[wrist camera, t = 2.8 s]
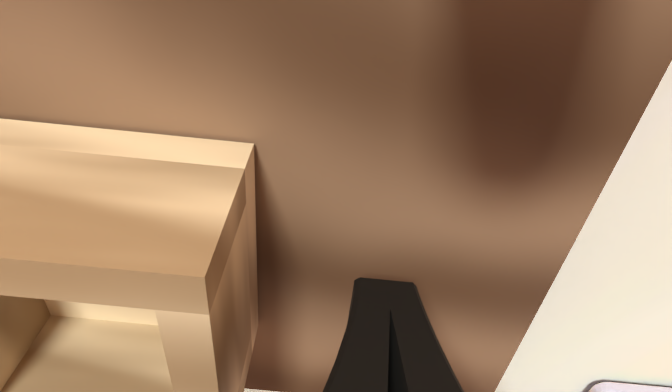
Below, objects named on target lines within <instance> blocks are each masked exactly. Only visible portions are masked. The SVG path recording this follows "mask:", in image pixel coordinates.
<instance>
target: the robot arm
mask: <svg viewBox="0 0 672 392" xmlns="http://www.w3.org/2000/svg"><path fill="white" fill-rule="evenodd" d="M323 392H464V391H463V389H462V387H461V385H460V383H459V381H458V379H457V377H456V376H455V374H454V372H453V370H452V367H451V365H450V363H449V361H448V359H447V357H446V355H445V353H444V351H443V349H442V347H441V345H440V343H439V341H438V339H437V337H436V334H435V332H434V330H433V327H432V325H431V323H430V321H429V318H428V316H427V313H426V311H425V308H424V306H423V303H422V301H421V298H420V295H419V292H418V289H417V286H416V285H415V284H414V283H413V282H403V281H393V280H382V279H372V278H362V277H360V278H358V279H356V280H354V285H353V292H352V298H351V304H350V310H349V316H348V322H347V327H346V330H345V333H344V336H343V339H342V342H341V345H340V348H339V351H338V354H337V357H336V360H335V363H334V365H333V368H332V370H331V373H330V375H329V377H328V380H327V382H326V385H325V387H324V390H323ZM589 392H672V388H670V387H659V386H648V385H638V384H627V383H617V382H601V383H598V384H596V385H594V386H593V387H592V388H591V389H590V390H589Z"/></svg>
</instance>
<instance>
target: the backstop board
mask: <svg viewBox="0 0 672 392" xmlns="http://www.w3.org/2000/svg"><path fill="white" fill-rule="evenodd" d="M671 60H672V0H0V118H1V119H11V120H21V121H31V122H41V123H51V124H61V125H72V126H82V127H92V128H102V129H112V130H122V131H132V132H142V133H152V134H162V135H172V136H182V137H192V138H202V139H213V140H223V141H233V142H243V143H253V144H254V164H255V205H256V246H257V288H258V329H257V333H256V338H255V342H254V347H253V351H252V356H251V360H250V365H249V369H248V374H247V379H246V383H245V388H248V389H259V390H270V391H280V392H323V390H324V387H325V385H326V382H327V380H328V377H329V375H330V373H331V370H332V368H333V365H334V363H335V360H336V357H337V354H338V351H339V348H340V345H341V342H342V339H343V336H344V333H345V330H346V327H347V322H348V316H349V310H350V304H351V298H352V292H353V285H354V280H356V279H358V278H360V277H362V278H372V279H382V280H393V281H403V282H413V283H414V284H415V285H416V286H417V289H418V292H419V295H420V298H421V301H422V303H423V306H424V308H425V311H426V313H427V316H428V318H429V321H430V323H431V325H432V327H433V330H434V332H435V334H436V337H437V339H438V341H439V343H440V345H441V347H442V349H443V351H444V353H445V355H446V357H447V359H448V361H449V363H450V365H451V367H452V370H453V372H454V374H455V376H456V377H457V379H458V381H459V383H460V385H461V387H462V389H463V391H464V392H494V391H495V390H496V388H497V386H498V384H499V382H500V380H501V378H502V376H503V375H504V373H505V371H506V369H507V367H508V365H509V363H510V362H511V360H512V358H513V356H514V354H515V352H516V350H517V348H518V347H519V345H520V343H521V341H522V339H523V337H524V335H525V333H526V332H527V330H528V328H529V326H530V324H531V322H532V320H533V319H534V317H535V315H536V313H537V311H538V309H539V307H540V305H541V304H542V302H543V300H544V298H545V296H546V294H547V292H548V290H549V289H550V287H551V285H552V283H553V281H554V279H555V277H556V276H557V274H558V272H559V270H560V268H561V266H562V264H563V262H564V261H565V259H566V257H567V255H568V253H569V251H570V249H571V247H572V246H573V244H574V242H575V240H576V238H577V236H578V234H579V233H580V231H581V229H582V227H583V225H584V223H585V221H586V219H587V218H588V216H589V214H590V212H591V210H592V208H593V206H594V204H595V203H596V201H597V199H598V197H599V195H600V193H601V191H602V189H603V188H604V186H605V184H606V182H607V180H608V178H609V176H610V175H611V173H612V171H613V169H614V167H615V165H616V163H617V161H618V160H619V158H620V156H621V154H622V152H623V150H624V148H625V146H626V145H627V143H628V141H629V139H630V137H631V135H632V133H633V132H634V130H635V128H636V126H637V124H638V122H639V120H640V118H641V117H642V115H643V113H644V111H645V109H646V107H647V105H648V103H649V102H650V100H651V98H652V96H653V94H654V92H655V90H656V89H657V87H658V85H659V83H660V81H661V79H662V77H663V75H664V74H665V72H666V70H667V68H668V66H669V64H670V62H671Z"/></svg>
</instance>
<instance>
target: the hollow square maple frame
mask: <svg viewBox="0 0 672 392" xmlns="http://www.w3.org/2000/svg"><path fill="white" fill-rule="evenodd" d="M257 329H258V288H257V246H256V205H255V164H254V144H253V143H243V142H233V141H223V140H213V139H202V138H192V137H182V136H172V135H162V134H152V133H142V132H132V131H122V130H112V129H102V128H92V127H82V126H72V125H61V124H51V123H41V122H31V121H21V120H11V119H1V118H0V392H244V388H245V383H246V379H247V374H248V369H249V365H250V360H251V356H252V351H253V347H254V342H255V338H256V333H257Z"/></svg>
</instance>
